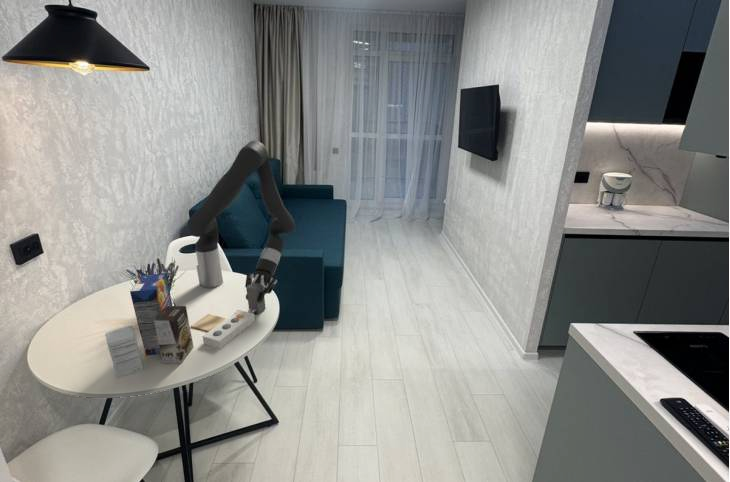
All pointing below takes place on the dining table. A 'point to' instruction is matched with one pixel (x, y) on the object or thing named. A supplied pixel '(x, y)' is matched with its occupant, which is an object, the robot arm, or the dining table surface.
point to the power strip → (228, 329)
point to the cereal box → (150, 307)
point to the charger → (255, 298)
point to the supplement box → (124, 351)
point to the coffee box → (174, 334)
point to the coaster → (208, 322)
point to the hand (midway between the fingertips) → (253, 300)
